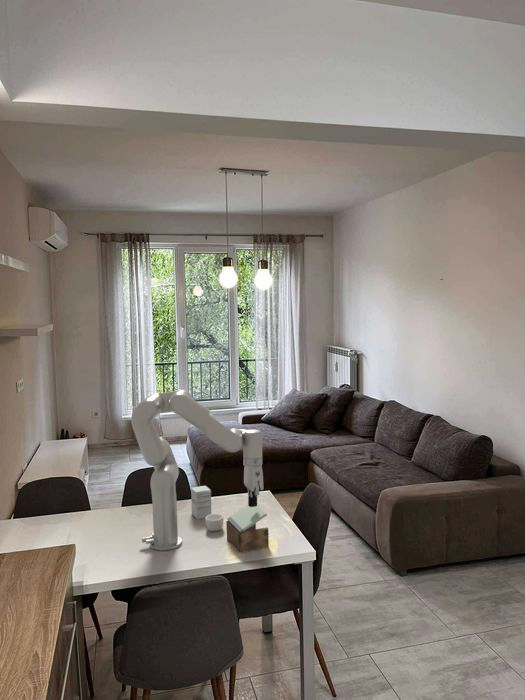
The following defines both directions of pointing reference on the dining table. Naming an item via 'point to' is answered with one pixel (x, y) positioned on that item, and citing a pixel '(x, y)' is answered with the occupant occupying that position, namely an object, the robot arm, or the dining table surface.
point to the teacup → (214, 522)
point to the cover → (246, 517)
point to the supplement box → (201, 502)
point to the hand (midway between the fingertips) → (252, 505)
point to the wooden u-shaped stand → (247, 538)
